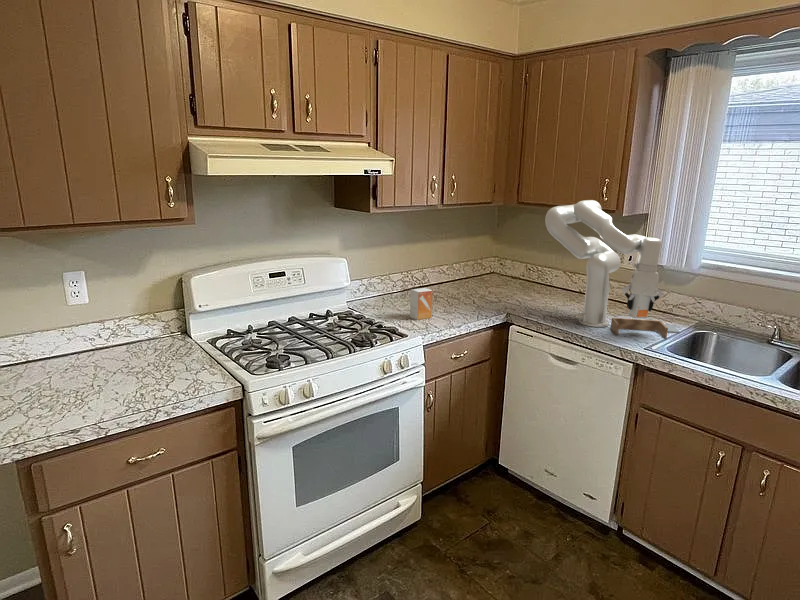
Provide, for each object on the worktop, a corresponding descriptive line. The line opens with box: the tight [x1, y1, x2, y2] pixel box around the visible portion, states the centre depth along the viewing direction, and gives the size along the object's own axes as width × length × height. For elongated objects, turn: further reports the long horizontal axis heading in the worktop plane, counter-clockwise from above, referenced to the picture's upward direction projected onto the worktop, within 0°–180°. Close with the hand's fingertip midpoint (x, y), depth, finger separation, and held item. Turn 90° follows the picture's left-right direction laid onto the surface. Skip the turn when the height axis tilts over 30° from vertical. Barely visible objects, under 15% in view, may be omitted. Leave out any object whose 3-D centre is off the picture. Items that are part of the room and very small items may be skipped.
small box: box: [409, 287, 434, 321], centre depth 237 cm, size 8×6×13 cm
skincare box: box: [628, 291, 651, 319], centre depth 217 cm, size 6×4×12 cm
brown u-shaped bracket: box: [610, 317, 668, 339], centre depth 220 cm, size 20×11×4 cm, turn 80°
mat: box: [654, 324, 681, 334], centre depth 227 cm, size 10×10×1 cm
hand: (639, 309), depth 218 cm, fingers closed on skincare box, 7 cm apart
